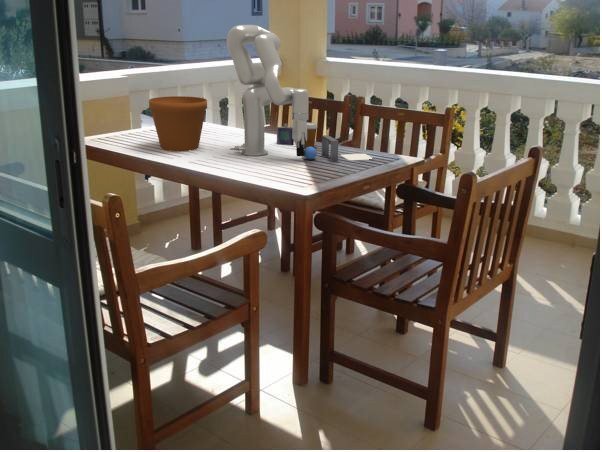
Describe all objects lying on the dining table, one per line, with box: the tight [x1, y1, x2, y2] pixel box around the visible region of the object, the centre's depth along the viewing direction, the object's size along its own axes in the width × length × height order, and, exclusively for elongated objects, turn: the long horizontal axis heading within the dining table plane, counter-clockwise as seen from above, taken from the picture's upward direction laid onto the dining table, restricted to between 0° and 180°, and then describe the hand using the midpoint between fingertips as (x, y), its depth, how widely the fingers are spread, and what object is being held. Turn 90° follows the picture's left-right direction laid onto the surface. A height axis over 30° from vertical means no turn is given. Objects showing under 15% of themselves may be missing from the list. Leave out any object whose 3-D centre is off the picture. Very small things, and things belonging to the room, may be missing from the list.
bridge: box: [320, 134, 339, 163], centre depth 326 cm, size 3×15×10 cm, turn 17°
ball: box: [303, 147, 317, 161], centre depth 323 cm, size 6×6×6 cm
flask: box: [276, 123, 295, 146], centre depth 357 cm, size 9×3×11 cm, turn 71°
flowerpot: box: [148, 95, 208, 152], centre depth 342 cm, size 28×28×24 cm
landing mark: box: [339, 153, 373, 162], centre depth 331 cm, size 13×13×1 cm
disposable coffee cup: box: [304, 121, 318, 149], centre depth 350 cm, size 10×10×12 cm
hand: (300, 155), depth 322 cm, fingers closed
